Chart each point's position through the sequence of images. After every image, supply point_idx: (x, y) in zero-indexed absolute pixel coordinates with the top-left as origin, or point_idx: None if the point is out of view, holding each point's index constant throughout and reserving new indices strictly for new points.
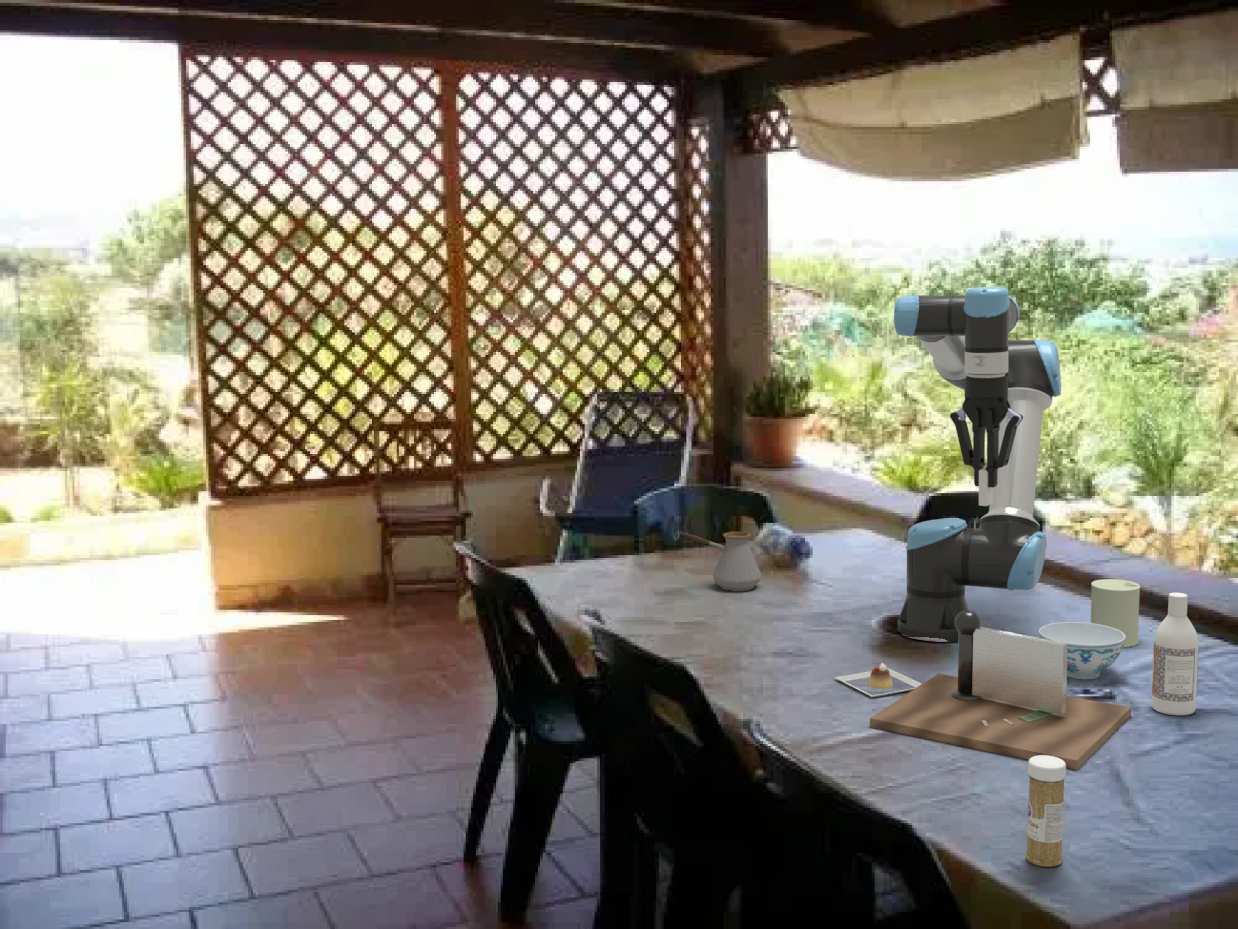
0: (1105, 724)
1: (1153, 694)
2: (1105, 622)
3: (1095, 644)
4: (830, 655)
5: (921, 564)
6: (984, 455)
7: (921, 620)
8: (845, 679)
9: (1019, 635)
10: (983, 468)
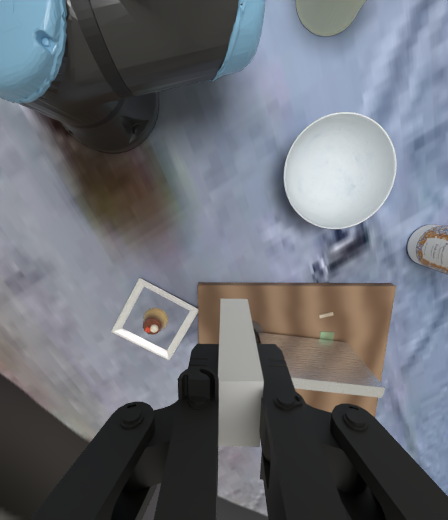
0: (381, 340)
1: (419, 260)
2: (335, 14)
3: (339, 130)
4: (60, 260)
5: (46, 112)
6: (217, 454)
7: (102, 144)
8: (120, 325)
9: (325, 386)
10: (221, 403)
